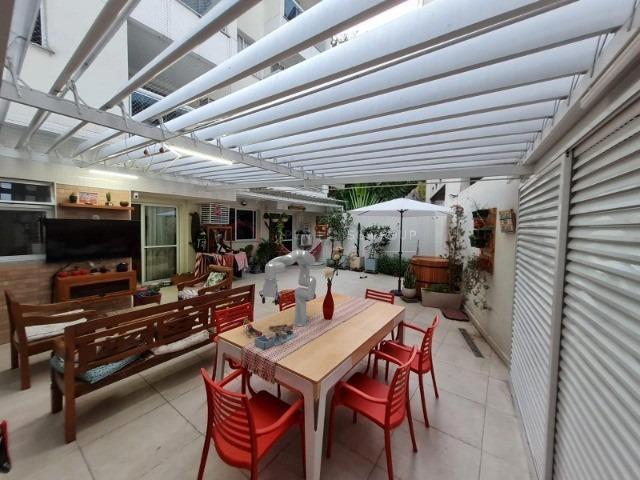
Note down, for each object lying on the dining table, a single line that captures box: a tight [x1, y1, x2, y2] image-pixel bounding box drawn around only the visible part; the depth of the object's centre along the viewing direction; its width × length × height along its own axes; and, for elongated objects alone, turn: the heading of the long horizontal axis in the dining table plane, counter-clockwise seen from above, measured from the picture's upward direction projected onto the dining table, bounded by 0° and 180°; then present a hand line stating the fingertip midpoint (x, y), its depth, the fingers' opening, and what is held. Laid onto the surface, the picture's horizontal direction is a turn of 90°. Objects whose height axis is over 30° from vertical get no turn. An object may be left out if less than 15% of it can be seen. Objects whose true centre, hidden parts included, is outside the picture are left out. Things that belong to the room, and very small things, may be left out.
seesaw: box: [268, 323, 295, 336], centre depth 187 cm, size 20×15×3 cm
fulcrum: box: [268, 328, 298, 347], centre depth 189 cm, size 21×12×8 cm, turn 141°
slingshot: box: [242, 317, 263, 338], centre depth 195 cm, size 17×10×15 cm
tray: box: [254, 334, 276, 351], centre depth 178 cm, size 9×11×5 cm
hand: (270, 304), depth 181 cm, fingers open, 9 cm apart
